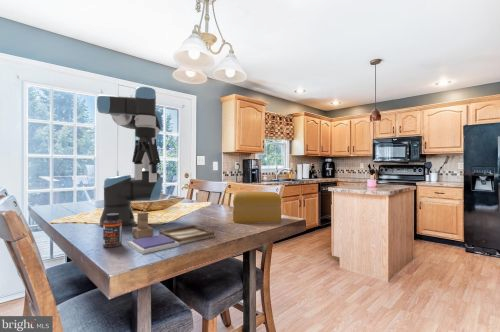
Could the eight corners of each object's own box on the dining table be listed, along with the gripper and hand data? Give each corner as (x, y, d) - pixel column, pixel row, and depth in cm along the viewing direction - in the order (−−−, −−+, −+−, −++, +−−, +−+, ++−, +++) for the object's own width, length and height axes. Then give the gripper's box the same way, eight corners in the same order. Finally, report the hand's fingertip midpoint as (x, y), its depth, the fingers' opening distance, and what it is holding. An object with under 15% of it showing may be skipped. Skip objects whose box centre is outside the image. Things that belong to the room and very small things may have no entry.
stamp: (132, 237, 104) (132, 212, 104) (147, 234, 108) (147, 210, 108) (137, 240, 100) (137, 214, 100) (153, 237, 104) (153, 213, 104)
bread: (232, 223, 130) (233, 193, 130) (233, 217, 143) (233, 190, 143) (281, 223, 131) (281, 193, 131) (277, 217, 144) (278, 190, 144)
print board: (159, 235, 107) (159, 231, 107) (193, 229, 118) (193, 225, 118) (178, 244, 95) (178, 239, 95) (214, 236, 106) (214, 231, 106)
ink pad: (128, 244, 94) (128, 239, 94) (163, 238, 103) (163, 233, 103) (142, 254, 85) (142, 248, 85) (178, 245, 94) (178, 240, 94)
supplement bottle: (101, 249, 90) (102, 216, 89) (103, 244, 95) (104, 213, 95) (121, 246, 92) (121, 214, 92) (122, 242, 97) (122, 211, 97)
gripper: (124, 128, 110) (123, 179, 110) (150, 123, 92) (149, 183, 93) (141, 130, 115) (141, 178, 116) (169, 125, 98) (169, 182, 98)
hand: (145, 180), depth 104 cm, fingers open, 13 cm apart
